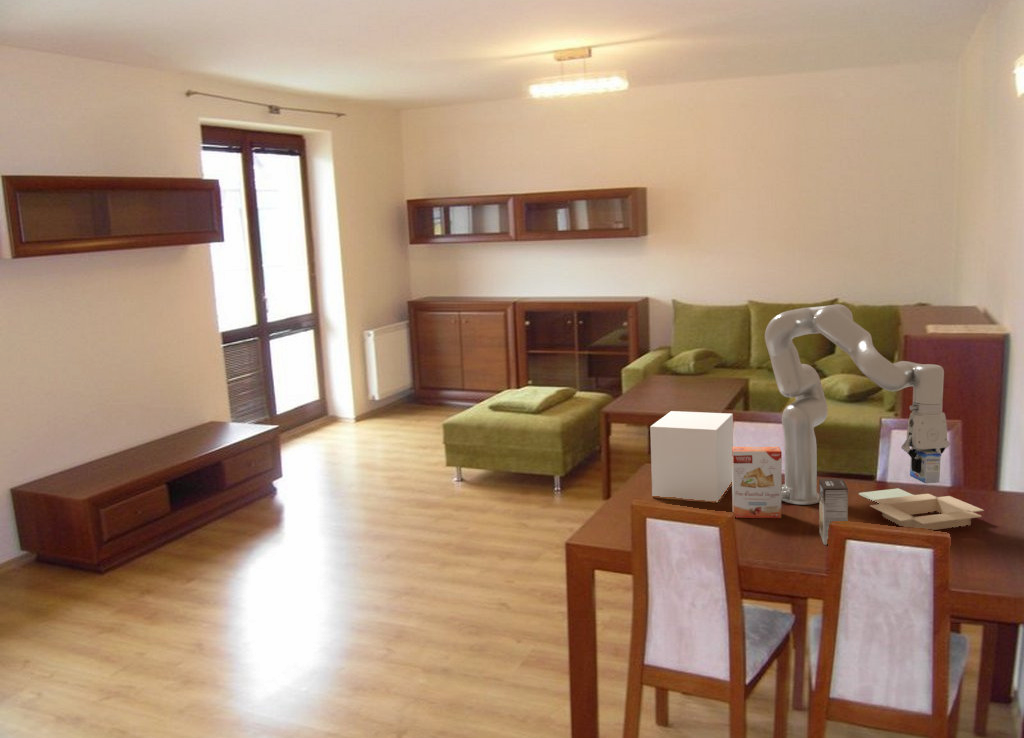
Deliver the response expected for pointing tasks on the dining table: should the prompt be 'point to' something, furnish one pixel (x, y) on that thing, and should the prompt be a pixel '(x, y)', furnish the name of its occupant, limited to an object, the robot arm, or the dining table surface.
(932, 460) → the medicine box
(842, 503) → the coffee box
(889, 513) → the carton
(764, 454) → the cracker box
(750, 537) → the dining table surface
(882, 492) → the sage board
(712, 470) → the cube
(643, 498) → the dining table surface
